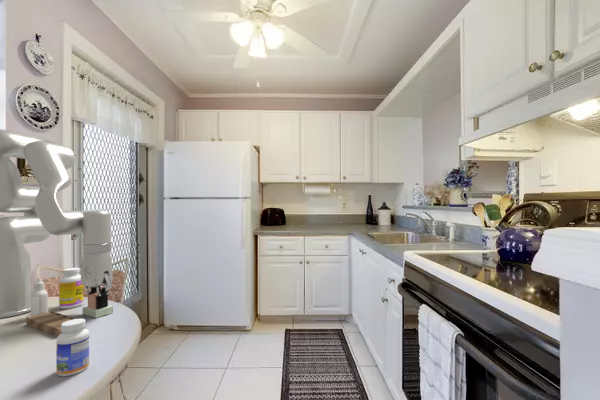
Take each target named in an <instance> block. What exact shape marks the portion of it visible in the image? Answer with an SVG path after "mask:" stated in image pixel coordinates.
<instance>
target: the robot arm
mask: <svg viewBox="0 0 600 400" xmlns="http://www.w3.org/2000/svg"><path fill="white" fill-rule="evenodd" d="M11 158H17V159H24V160H26V161H27V164H28V166H29V167H30V169H31V172H32V174H33V176H34V179H36V182H37V184H38V186H34V185H33V186H31V185H24V184H23V182H22V178H21V171H19V168H18V167H17V165H16V164H15V163H14V162H13V160H12V159H11ZM75 163H76V155H75V152H74V151H73V150H72V148H70V147H69V146H67V145H63V144H60V143H57V142H54V141H52V140H49V139H46V138H43V137H39V136H35V135H30V134H27V133H26V134H25V133H22V132H17V131H13V130H10V129H1V128H0V213H2V214H3V213H4V214H12V213H13V214H17V213H18V214H20V213H21V214H22V213H23V215H20V216H19V215H18V216H17V215H15V216H14V215H11V216H3V217H2V216H1V217H0V319H3V318H9V317H15V316H20V315H23V314H26V313H29V312H30V313H31V293H32V292H31V291H32V290H31V289H32V285H31V283H32V282H31V278H32V277H31V255H30V253H29V252H30V251H28V250H27V248H26V246H25V245H24V244H33V243H39V242H44V241H46V240H48V239H49V237H50V236H51V235H52V236H65V235H66V236H68V235H78V234H82V258H81V266H80V267H81V268H80V275H81V284H83V286H85V287H86V289H87V290H86V294H87V295H91V294H95V293H97V295H98V296H96V309H101V308H104V307H107V306H108V305H109V293H110V292H109V291H110V289H111V288H112V286H113V284H112V282H113V263H112V255H111V253H112V236H111V235H112V224H111V223H112V222H111V220H112V218H111V217H112V216H111V213H110V211H108V210H62V209H61V207H60V204H59V202H58V200H57V192H60V191H63V190H65V189H67V188H68V187H70V185H71V184H72V177H71V176H70V173H69V172H68V169H70V168H72V167H73V166H74V165H75Z"/></svg>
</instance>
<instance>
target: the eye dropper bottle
mask: <svg viewBox="0 0 600 400" xmlns="http://www.w3.org/2000/svg"><path fill="white" fill-rule="evenodd" d="M46 312H49V294H48V291H47V290H46V289H45V281H44V282H43V281H42V279H41V278H40V277H39V278H37V281H36V282H35V283H34V284H33V291H32V292H31V311H30V317H31V316H35V315H39V314H42V313H46Z"/></svg>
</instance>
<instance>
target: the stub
mask: <svg viewBox="0 0 600 400" xmlns="http://www.w3.org/2000/svg"><path fill="white" fill-rule="evenodd" d="M96 296H98V295H97V293H95V294H91V295H89V294H87V306H84V307H83V306H82V309H81V310H82V315H84V314H85V315H84V316H88V315H89V316H88V317H91V316H92V317H91V318H95V319H96V318H101V317H103V316H107V315H110V314H113V313H114V306H113V305H111V304H110V305H109V304H108V306H107V307H104V308H101V309H96Z"/></svg>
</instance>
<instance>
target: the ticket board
mask: <svg viewBox="0 0 600 400" xmlns="http://www.w3.org/2000/svg"><path fill="white" fill-rule="evenodd" d="M73 319H77V318H75V317H73V316H69V315H65V314H62V313H59V312H55V311H52V310H51V311H48V312H46V313H42V314H39V315H35V316H31V315H30V316H27V317H26V319H25V320H26V325H27V326H29V327H32V328H34V329H37V330H40V331H42V332H45V333H47V334H50V335H52V336H55V337H58V336H59V335H60V334H62V332H61V324H62V323H64V322H66V321H69V320H73ZM84 329H86V326H85V327H84Z"/></svg>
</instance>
